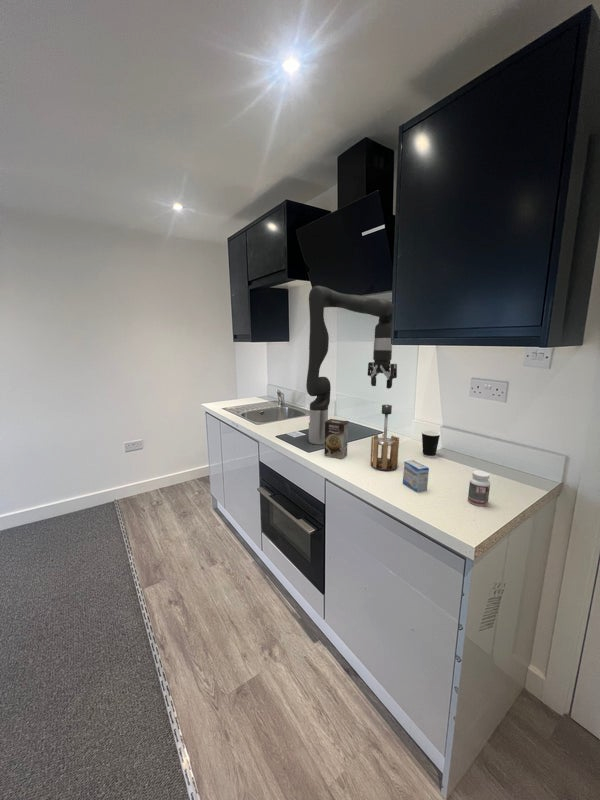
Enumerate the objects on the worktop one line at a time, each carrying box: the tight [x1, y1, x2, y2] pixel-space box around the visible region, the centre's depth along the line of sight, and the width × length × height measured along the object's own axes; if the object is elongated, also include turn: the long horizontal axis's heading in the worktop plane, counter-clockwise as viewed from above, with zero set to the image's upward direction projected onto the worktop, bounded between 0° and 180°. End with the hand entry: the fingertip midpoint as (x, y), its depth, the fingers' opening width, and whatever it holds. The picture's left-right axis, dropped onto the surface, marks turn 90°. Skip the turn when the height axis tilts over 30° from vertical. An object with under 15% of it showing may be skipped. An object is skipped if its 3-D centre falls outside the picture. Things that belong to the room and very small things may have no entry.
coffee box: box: [323, 418, 349, 460], centre depth 141 cm, size 9×6×16 cm
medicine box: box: [402, 459, 430, 493], centre depth 112 cm, size 8×4×9 cm, turn 21°
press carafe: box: [369, 433, 400, 472], centre depth 130 cm, size 11×13×12 cm
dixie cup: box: [421, 429, 442, 459], centre depth 141 cm, size 8×8×11 cm
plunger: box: [375, 404, 395, 447], centre depth 127 cm, size 8×8×15 cm
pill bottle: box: [467, 470, 491, 507], centre depth 101 cm, size 6×6×10 cm
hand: (381, 387), depth 136 cm, fingers open, 8 cm apart
